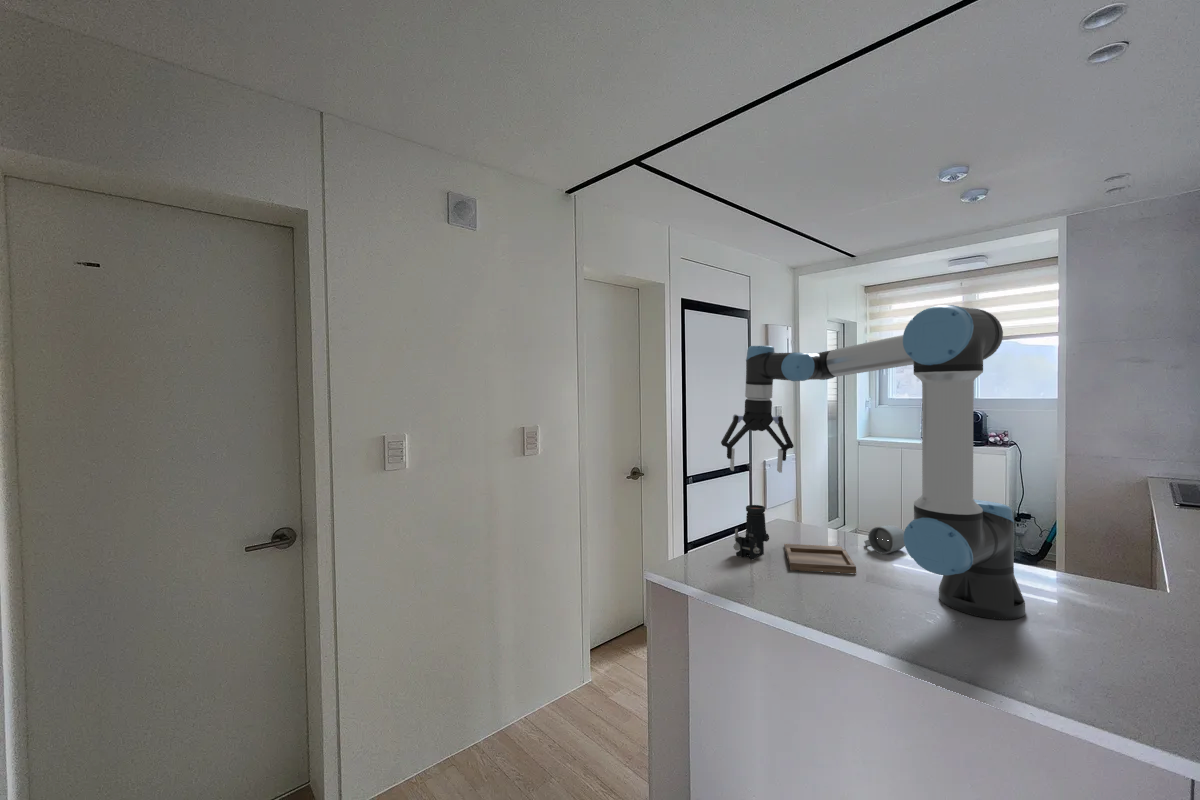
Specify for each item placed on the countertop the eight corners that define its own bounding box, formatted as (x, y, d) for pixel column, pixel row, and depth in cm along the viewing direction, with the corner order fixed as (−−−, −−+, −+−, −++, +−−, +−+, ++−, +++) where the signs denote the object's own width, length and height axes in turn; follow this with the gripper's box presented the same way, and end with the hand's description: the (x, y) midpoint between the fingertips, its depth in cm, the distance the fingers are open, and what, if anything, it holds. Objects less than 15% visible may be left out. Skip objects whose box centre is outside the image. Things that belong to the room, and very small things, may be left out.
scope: (732, 508, 146) (749, 502, 153) (733, 555, 147) (750, 546, 153) (757, 512, 140) (774, 506, 147) (758, 561, 141) (775, 552, 148)
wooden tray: (856, 574, 129) (856, 566, 129) (790, 570, 133) (790, 562, 133) (841, 549, 148) (841, 543, 148) (784, 546, 152) (784, 540, 152)
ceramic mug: (909, 551, 144) (908, 525, 144) (893, 557, 140) (892, 530, 140) (874, 543, 154) (873, 518, 154) (858, 548, 149) (857, 522, 149)
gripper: (799, 398, 146) (796, 469, 148) (713, 396, 149) (711, 466, 151) (806, 401, 138) (803, 475, 140) (716, 399, 142) (713, 471, 144)
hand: (755, 470), depth 146 cm, fingers open, 13 cm apart
